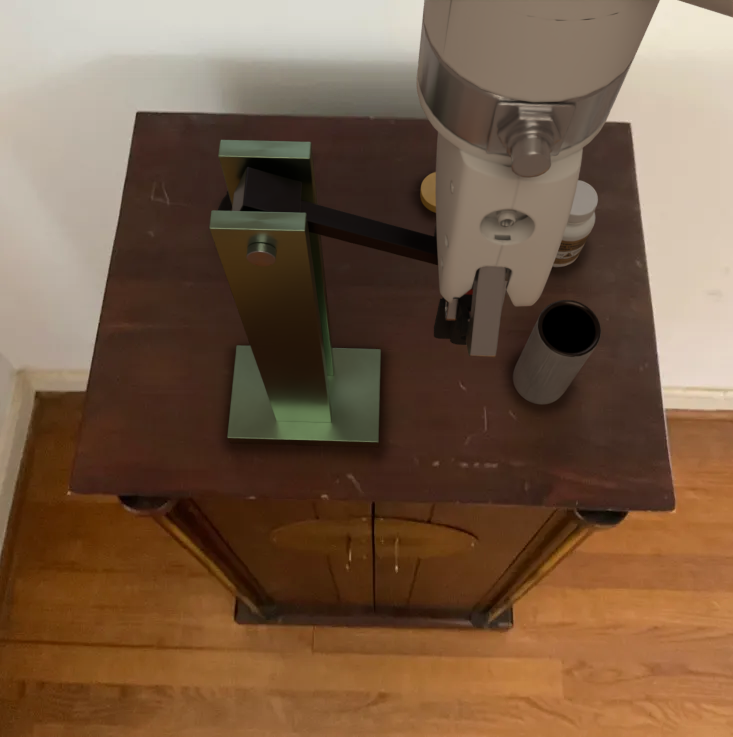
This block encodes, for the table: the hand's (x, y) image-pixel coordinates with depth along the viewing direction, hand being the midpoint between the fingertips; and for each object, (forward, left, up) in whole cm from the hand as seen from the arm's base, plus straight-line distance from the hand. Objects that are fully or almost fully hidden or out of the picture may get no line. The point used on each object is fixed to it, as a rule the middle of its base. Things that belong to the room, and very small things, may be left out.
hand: (460, 288), depth 45 cm
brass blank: (-12, -16, -20) cm, 29 cm away
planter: (-9, +3, -20) cm, 22 cm away
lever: (+5, -3, +5) cm, 7 cm away
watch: (+3, -24, -20) cm, 32 cm away
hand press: (+9, -6, -20) cm, 23 cm away
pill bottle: (-18, -6, -20) cm, 27 cm away
